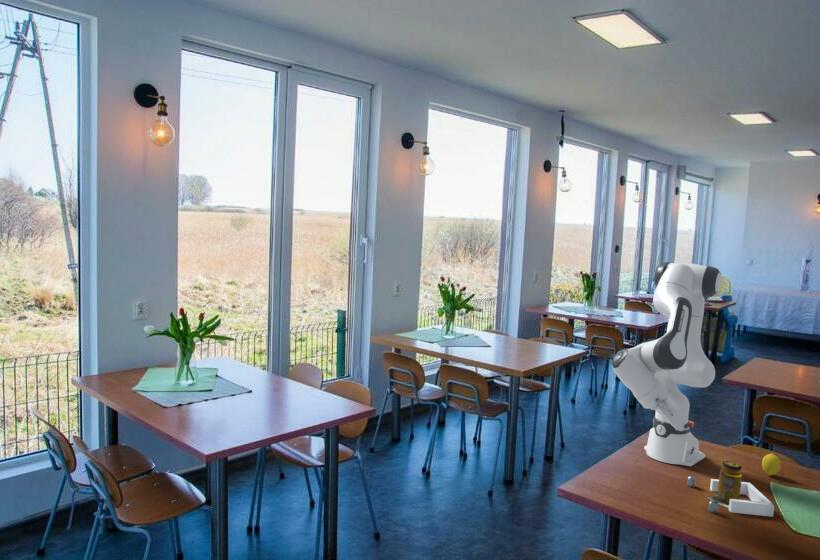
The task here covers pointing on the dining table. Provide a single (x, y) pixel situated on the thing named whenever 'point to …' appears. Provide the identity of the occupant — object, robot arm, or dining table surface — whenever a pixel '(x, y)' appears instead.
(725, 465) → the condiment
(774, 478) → the dining table surface
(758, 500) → the holder
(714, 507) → the cylinder
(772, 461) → the lemon
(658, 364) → the robot arm
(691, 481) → the cylinder
